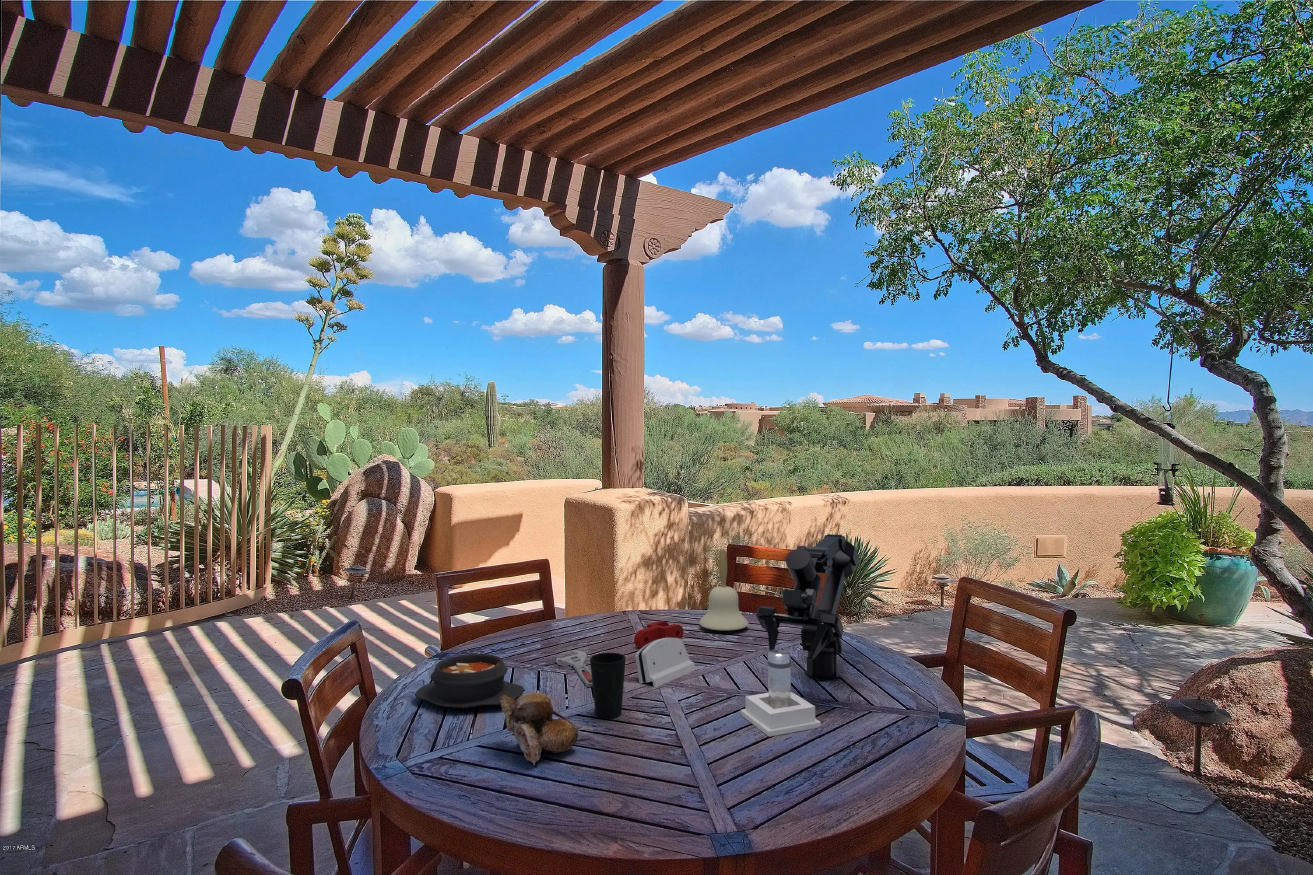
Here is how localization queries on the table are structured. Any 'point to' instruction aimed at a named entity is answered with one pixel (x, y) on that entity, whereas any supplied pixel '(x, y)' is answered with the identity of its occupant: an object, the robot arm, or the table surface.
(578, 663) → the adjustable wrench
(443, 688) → the casserole
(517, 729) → the seed pod
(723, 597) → the handbell
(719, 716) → the table surface
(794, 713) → the white square hollow block
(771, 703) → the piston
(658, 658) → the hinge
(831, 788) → the table surface
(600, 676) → the cup
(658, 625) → the mechanical linkage
